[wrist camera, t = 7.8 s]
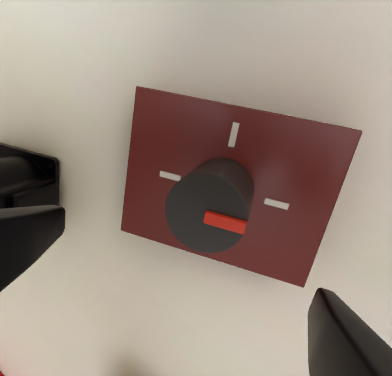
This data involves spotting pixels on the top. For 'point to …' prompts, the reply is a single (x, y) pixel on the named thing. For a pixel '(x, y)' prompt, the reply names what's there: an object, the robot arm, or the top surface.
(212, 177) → the timer dial
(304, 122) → the dial panel
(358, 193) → the top surface
